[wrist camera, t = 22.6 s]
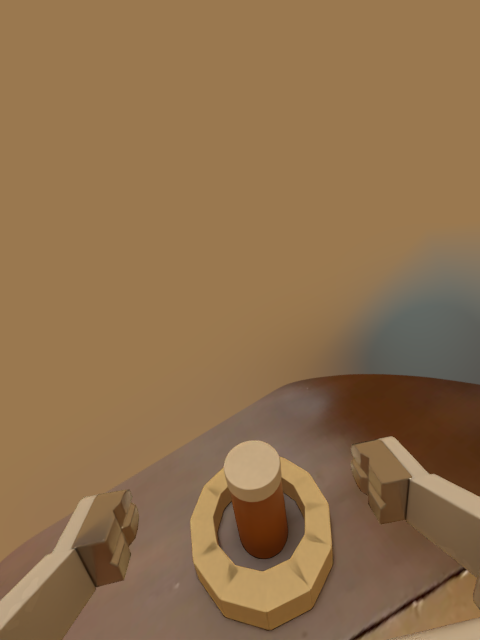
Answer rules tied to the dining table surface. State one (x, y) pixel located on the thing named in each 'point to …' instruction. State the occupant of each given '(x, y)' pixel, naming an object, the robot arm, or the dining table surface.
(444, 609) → the dining table surface
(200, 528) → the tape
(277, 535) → the amber bottle
